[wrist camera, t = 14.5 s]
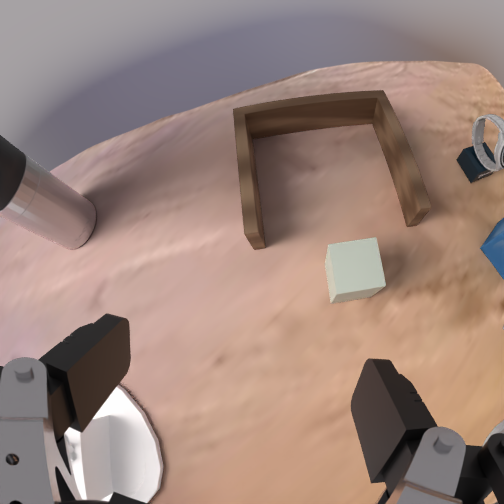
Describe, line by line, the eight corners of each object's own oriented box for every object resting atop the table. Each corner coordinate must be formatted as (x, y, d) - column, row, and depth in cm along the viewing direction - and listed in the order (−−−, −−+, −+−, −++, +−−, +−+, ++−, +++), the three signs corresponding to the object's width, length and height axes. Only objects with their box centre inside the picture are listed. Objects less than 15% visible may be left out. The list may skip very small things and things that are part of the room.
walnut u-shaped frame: (241, 133, 45) (232, 108, 39) (377, 116, 42) (383, 90, 36) (254, 249, 39) (244, 234, 33) (416, 225, 36) (431, 207, 30)
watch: (476, 194, 35) (510, 156, 25) (450, 150, 38) (475, 106, 27) (497, 184, 35) (530, 148, 24) (472, 143, 37) (497, 102, 27)
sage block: (324, 263, 37) (328, 244, 29) (363, 257, 36) (376, 237, 29) (330, 303, 35) (336, 294, 28) (370, 297, 35) (386, 285, 27)
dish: (33, 378, 40) (-13, 377, 30) (135, 357, 38) (82, 358, 28) (73, 498, 32) (33, 516, 22) (187, 509, 30) (153, 546, 20)
